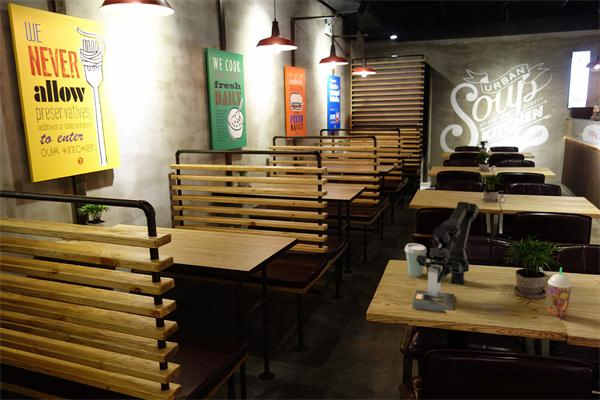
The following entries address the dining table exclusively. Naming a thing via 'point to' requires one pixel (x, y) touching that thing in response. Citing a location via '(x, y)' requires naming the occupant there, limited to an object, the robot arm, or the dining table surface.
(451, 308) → the flange plate
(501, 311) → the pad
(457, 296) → the dining table surface
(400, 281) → the dining table surface
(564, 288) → the smoothie
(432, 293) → the grey square peg
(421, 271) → the disposable coffee cup
